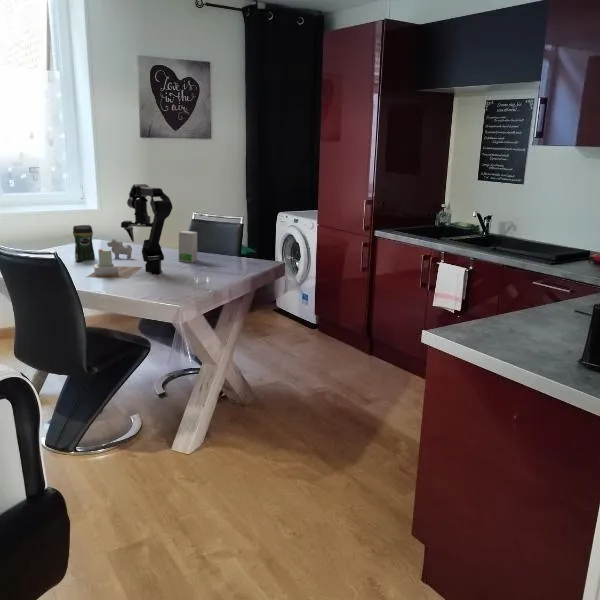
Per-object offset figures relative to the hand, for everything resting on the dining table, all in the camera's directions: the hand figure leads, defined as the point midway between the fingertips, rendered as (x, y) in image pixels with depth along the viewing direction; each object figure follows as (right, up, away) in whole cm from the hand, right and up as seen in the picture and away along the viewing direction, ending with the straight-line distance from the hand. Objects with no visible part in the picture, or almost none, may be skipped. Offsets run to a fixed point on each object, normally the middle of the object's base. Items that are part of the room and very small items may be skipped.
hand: (142, 242), depth 283 cm
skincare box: (+18, -8, +24) cm, 31 cm away
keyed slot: (-13, -16, -15) cm, 25 cm away
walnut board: (-10, -16, -10) cm, 21 cm away
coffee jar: (-34, -8, +16) cm, 38 cm away
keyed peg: (-13, -16, -15) cm, 25 cm away
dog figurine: (-18, -7, +23) cm, 30 cm away
